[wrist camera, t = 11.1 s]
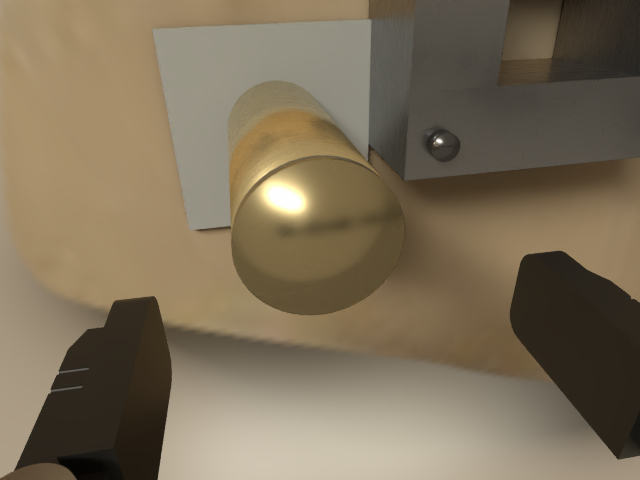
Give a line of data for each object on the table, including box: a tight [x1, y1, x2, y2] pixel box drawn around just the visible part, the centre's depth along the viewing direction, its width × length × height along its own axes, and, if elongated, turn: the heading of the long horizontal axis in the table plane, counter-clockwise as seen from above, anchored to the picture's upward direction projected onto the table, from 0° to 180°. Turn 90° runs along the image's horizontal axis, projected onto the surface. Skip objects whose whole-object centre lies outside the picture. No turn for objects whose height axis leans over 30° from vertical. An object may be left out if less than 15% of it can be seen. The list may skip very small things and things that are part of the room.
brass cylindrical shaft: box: [227, 81, 404, 315], centre depth 18 cm, size 5×5×12 cm
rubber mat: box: [152, 19, 371, 230], centre depth 24 cm, size 10×10×1 cm
